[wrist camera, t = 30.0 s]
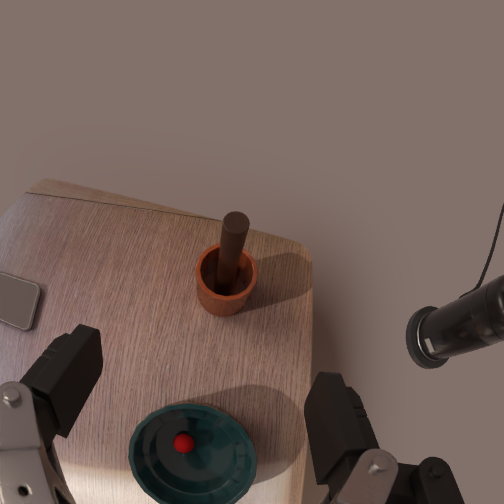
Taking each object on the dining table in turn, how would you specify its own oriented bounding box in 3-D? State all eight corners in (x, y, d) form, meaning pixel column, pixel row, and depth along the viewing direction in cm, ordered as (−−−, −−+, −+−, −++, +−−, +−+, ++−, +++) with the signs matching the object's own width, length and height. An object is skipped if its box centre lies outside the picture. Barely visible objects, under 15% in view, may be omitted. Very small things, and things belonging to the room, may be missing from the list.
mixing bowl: (236, 392, 35) (241, 394, 30) (259, 486, 30) (268, 501, 24) (129, 406, 32) (116, 409, 27) (154, 500, 26) (146, 517, 21)
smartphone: (27, 331, 32) (-31, 305, 31) (30, 333, 33) (-28, 307, 32) (40, 284, 36) (-19, 266, 34) (42, 287, 36) (-16, 268, 35)
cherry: (183, 427, 30) (192, 434, 32) (166, 436, 29) (176, 443, 31) (192, 442, 28) (201, 449, 30) (174, 452, 27) (184, 458, 29)
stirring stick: (229, 282, 41) (247, 209, 25) (232, 297, 40) (252, 232, 24) (213, 284, 41) (221, 212, 24) (216, 299, 40) (225, 235, 24)
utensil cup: (242, 265, 43) (250, 239, 36) (252, 312, 40) (263, 294, 33) (194, 272, 41) (192, 246, 34) (201, 320, 39) (201, 304, 32)
